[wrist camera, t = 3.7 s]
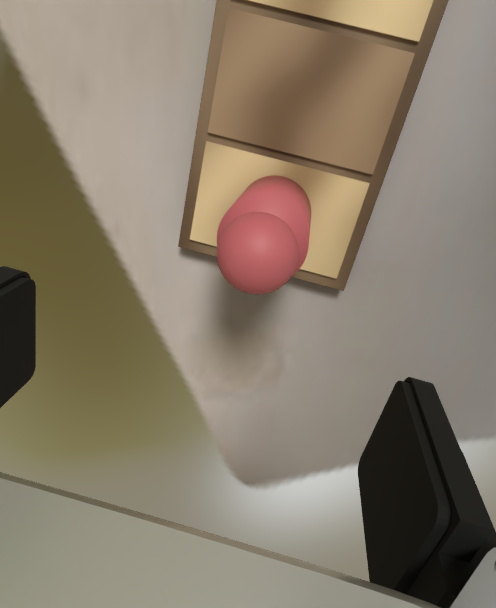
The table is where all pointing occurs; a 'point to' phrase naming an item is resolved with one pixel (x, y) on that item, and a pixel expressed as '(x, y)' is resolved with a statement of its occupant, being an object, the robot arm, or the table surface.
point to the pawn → (264, 235)
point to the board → (306, 113)
